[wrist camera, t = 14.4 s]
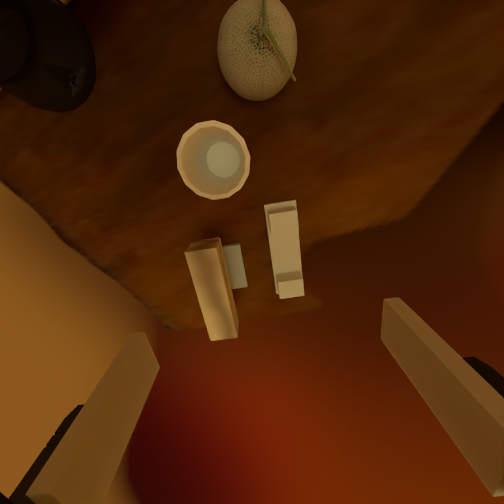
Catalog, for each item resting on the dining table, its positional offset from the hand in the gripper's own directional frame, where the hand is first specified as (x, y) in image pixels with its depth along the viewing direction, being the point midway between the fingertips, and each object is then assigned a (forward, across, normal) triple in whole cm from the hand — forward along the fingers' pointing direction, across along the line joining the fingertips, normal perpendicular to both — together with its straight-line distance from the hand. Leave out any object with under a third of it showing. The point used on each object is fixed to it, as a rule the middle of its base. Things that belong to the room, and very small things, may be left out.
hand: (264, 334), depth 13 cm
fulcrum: (+35, -9, -12) cm, 38 cm away
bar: (+28, -9, -12) cm, 32 cm away
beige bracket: (+35, +5, -10) cm, 36 cm away
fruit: (+35, +4, +21) cm, 41 cm away
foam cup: (+35, -4, +9) cm, 36 cm away
